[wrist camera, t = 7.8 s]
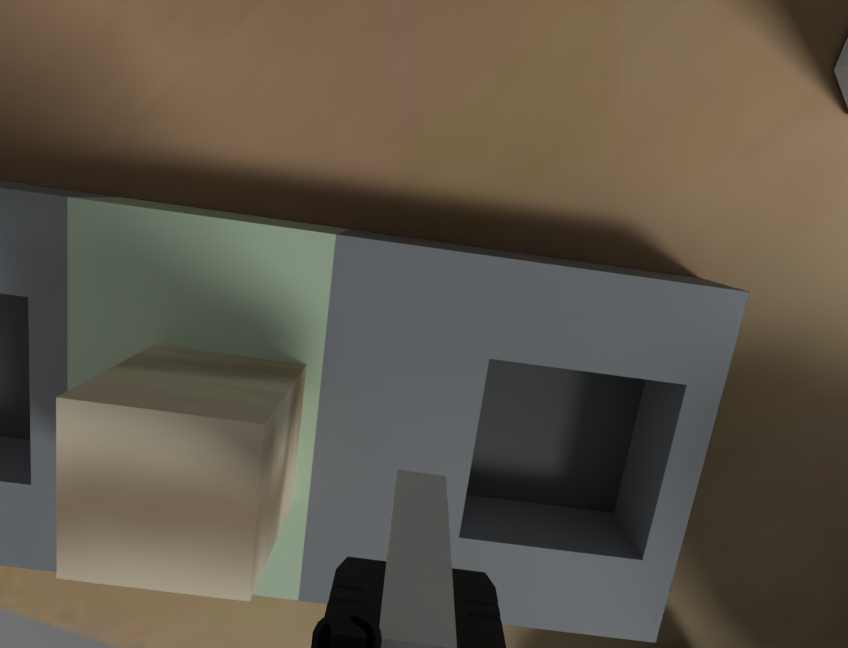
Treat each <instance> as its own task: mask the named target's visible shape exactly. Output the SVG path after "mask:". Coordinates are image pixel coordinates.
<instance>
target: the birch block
mask: <svg viewBox="0 0 848 648" xmlns="http://www.w3.org/2000/svg"><path fill="white" fill-rule="evenodd" d="M306 366H307V365H304V364H297V363H289V362H282V361H274V360H267V359H259V358H252V357H244V356H237V355H229V354H222V353H214V352H207V351H200V350H192V349H185V348H177V347H170V346H162V345H155V344H154V345H152V346H151V347H149V348H147V349H145V350H143V351H141V352H139V353H138V354H136V355H134V356H132V357H130V358H128V359H126V360H124V361H123V362H121V363H119V364H117V365H115V366H113V367H111V368H110V369H108V370H106V371H104V372H102V373H100V374H98V375H97V376H95V377H93V378H91V379H89V380H87V381H85V382H84V383H82V384H80V385H78V386H76V387H74V388H72V389H71V390H69V391H67V392H65V393H63V394H61V395H59V396H58V397H56V525H57V579H66V580H74V581H82V582H91V583H99V584H107V585H116V586H124V587H132V588H141V589H149V590H157V591H166V592H174V593H182V594H191V595H199V596H207V597H216V598H224V599H232V600H241V601H249V602H250V600H251V598H252V595H253V593H254V591H255V588H256V586H257V584H258V581H259V579H260V577H261V574H262V572H263V570H264V567H265V565H266V563H267V560H268V558H269V556H270V554H271V551H272V549H273V547H274V544H275V542H276V540H277V537H278V535H279V533H280V530H281V528H282V526H283V523H284V521H285V519H286V517H287V514H288V512H289V510H290V507H291V505H292V503H293V498H294V488H295V478H296V468H297V458H298V447H299V437H300V427H301V417H302V407H303V397H304V387H305V377H306Z"/></svg>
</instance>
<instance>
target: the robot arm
mask: <svg viewBox="0 0 848 648" xmlns="http://www.w3.org/2000/svg"><path fill="white" fill-rule="evenodd" d="M500 618H501V616H500V610H499V607H498V598H497V593H496V587H495V586H494V584H493V583H492V581H491V580H490V579H489V577H488V576H487V574H486V573H485V572H479V571H471V570H463V569H455V568H452V562H451V546H450V531H449V515H448V500H447V484H446V476H442V475H435V474H427V473H419V472H412V471H404V470H397V475H396V482H395V489H394V496H393V503H392V510H391V517H390V524H389V532H388V539H387V546H386V554H385V561H380V560H372V559H364V558H356V557H348V556H347V558H346V559H345V560H344V561H343V562H342V563H341V564H340V565H339V566H338V567H337V568H336V571H335V575H334V580H333V584H332V588H331V592H330V596H329V600H328V604H327V608H326V613H325V617H324V618H323V619H321V620H320V621H319V622H318V623H317V625H316V627H315V629H314V631H313V636H312V645H311V648H506V645H505V639H504V633H503V628H502V622H501V620H500Z"/></svg>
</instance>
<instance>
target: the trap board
mask: <svg viewBox="0 0 848 648" xmlns="http://www.w3.org/2000/svg"><path fill="white" fill-rule="evenodd" d="M749 293H750V292H748V291H744V290H741V289H737V288H734V287H730V286H726V285H723V284H719V283H716V282H712V281H709V280H705V279H702V278H697V277H690V276H682V275H675V274H668V273H661V272H654V271H647V270H640V269H632V268H625V267H618V266H611V265H604V264H597V263H589V262H582V261H575V260H568V259H561V258H554V257H546V256H539V255H532V254H525V253H518V252H511V251H503V250H496V249H489V248H482V247H475V246H468V245H460V244H453V243H446V242H439V241H432V240H425V239H417V238H410V237H403V236H396V235H389V234H382V233H374V232H367V231H360V230H353V229H346V228H339V227H331V226H324V225H317V224H310V223H303V222H296V221H288V220H281V219H274V218H267V217H260V216H253V215H245V214H238V213H231V212H224V211H217V210H210V209H203V208H195V207H188V206H181V205H174V204H167V203H160V202H152V201H145V200H138V199H131V198H124V197H117V196H109V195H102V194H95V193H88V192H81V191H74V190H66V189H59V188H52V187H45V186H38V185H31V184H23V183H16V182H9V181H2V180H0V565H3V566H12V567H20V568H29V569H37V570H46V571H54V572H57V525H56V397H58V396H59V395H61V394H63V393H65V392H67V391H69V390H71V389H72V388H74V387H76V386H78V385H80V384H82V383H84V382H85V381H87V380H89V379H91V378H93V377H95V376H97V375H98V374H100V373H102V372H104V371H106V370H108V369H110V368H111V367H113V366H115V365H117V364H119V363H121V362H123V361H124V360H126V359H128V358H130V357H132V356H134V355H136V354H138V353H139V352H141V351H143V350H145V349H147V348H149V347H151V346H152V345H154V344H155V345H162V346H170V347H177V348H185V349H192V350H200V351H207V352H214V353H222V354H229V355H237V356H244V357H252V358H259V359H267V360H274V361H282V362H289V363H297V364H304V365H307V366H306V377H305V387H304V397H303V407H302V417H301V427H300V437H299V447H298V458H297V468H296V478H295V488H294V498H293V503H292V505H291V507H290V510H289V512H288V514H287V517H286V519H285V521H284V523H283V526H282V528H281V530H280V533H279V535H278V537H277V540H276V542H275V544H274V547H273V549H272V551H271V554H270V556H269V558H268V560H267V563H266V565H265V567H264V570H263V572H262V574H261V577H260V579H259V581H258V584H257V586H256V588H255V591H254V593H253V595H257V596H265V597H273V598H282V599H290V600H299V601H307V602H316V603H324V604H328V600H329V596H330V592H331V588H332V584H333V580H334V575H335V571H336V568H337V567H338V566H339V565H340V564H341V563H342V562H343V561H344V560H345V559H346V558H347V556H348V557H356V558H364V559H372V560H380V561H385V554H386V546H387V539H388V532H389V524H390V517H391V510H392V503H393V496H394V489H395V482H396V475H397V470H404V471H412V472H419V473H427V474H435V475H442V476H446V484H447V500H448V515H449V531H450V546H451V562H452V568H455V569H463V570H471V571H479V572H485V573H486V574H487V576H488V577H489V579H490V580H491V581H492V583H493V584H494V586H495V587H496V593H497V598H498V607H499V610H500V616H501V618H500V620H501V622H502V625H510V626H518V627H527V628H535V629H543V630H552V631H560V632H569V633H577V634H586V635H594V636H603V637H611V638H619V639H628V640H636V641H645V642H653V643H656V639H657V636H658V632H659V628H660V625H661V621H662V617H663V613H664V610H665V606H666V602H667V598H668V595H669V591H670V587H671V584H672V580H673V576H674V572H675V569H676V565H677V561H678V557H679V554H680V550H681V546H682V543H683V539H684V535H685V531H686V528H687V524H688V520H689V516H690V513H691V509H692V505H693V502H694V498H695V494H696V490H697V487H698V483H699V479H700V475H701V472H702V468H703V464H704V461H705V457H706V453H707V449H708V446H709V442H710V438H711V434H712V431H713V427H714V423H715V420H716V416H717V412H718V408H719V405H720V401H721V397H722V393H723V390H724V386H725V382H726V379H727V375H728V371H729V367H730V364H731V360H732V356H733V352H734V349H735V345H736V341H737V337H738V334H739V330H740V326H741V323H742V319H743V315H744V311H745V308H746V304H747V300H748V296H749Z"/></svg>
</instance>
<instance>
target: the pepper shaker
mask: <svg viewBox="0 0 848 648" xmlns="http://www.w3.org/2000/svg"><path fill="white" fill-rule="evenodd" d="M834 72H835V75H836V78H837V81H838V83H839V86H840V89H841V92H842V94H843V97H844V100H845V103H846V105H847V108H848V37H847V40H846V42H845V44H844V47H843V49H842V52H841V54H840V56H839V59H838V61H837V63H836V66H835V68H834Z"/></svg>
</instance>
